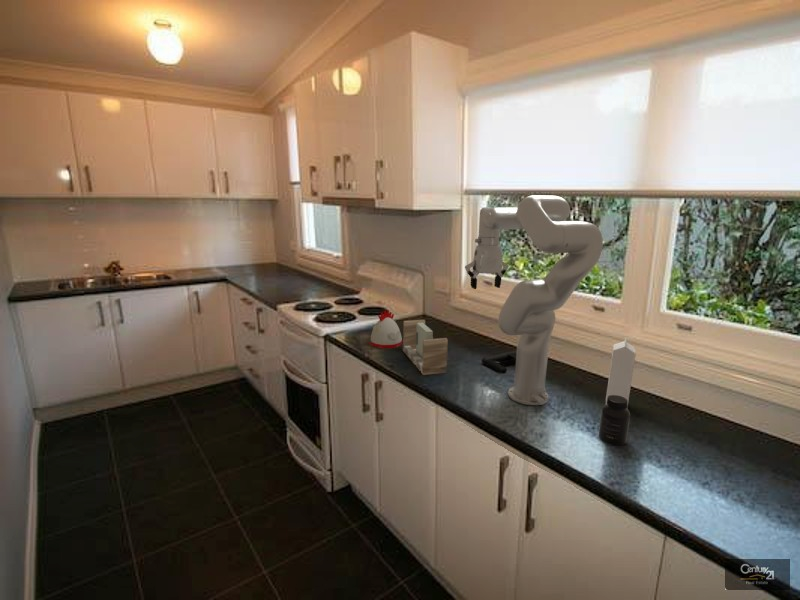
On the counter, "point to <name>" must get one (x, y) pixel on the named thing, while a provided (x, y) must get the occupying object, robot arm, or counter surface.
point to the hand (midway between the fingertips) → (485, 287)
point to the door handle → (496, 361)
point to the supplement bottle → (614, 421)
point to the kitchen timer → (386, 332)
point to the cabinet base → (425, 350)
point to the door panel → (422, 337)
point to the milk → (621, 370)
